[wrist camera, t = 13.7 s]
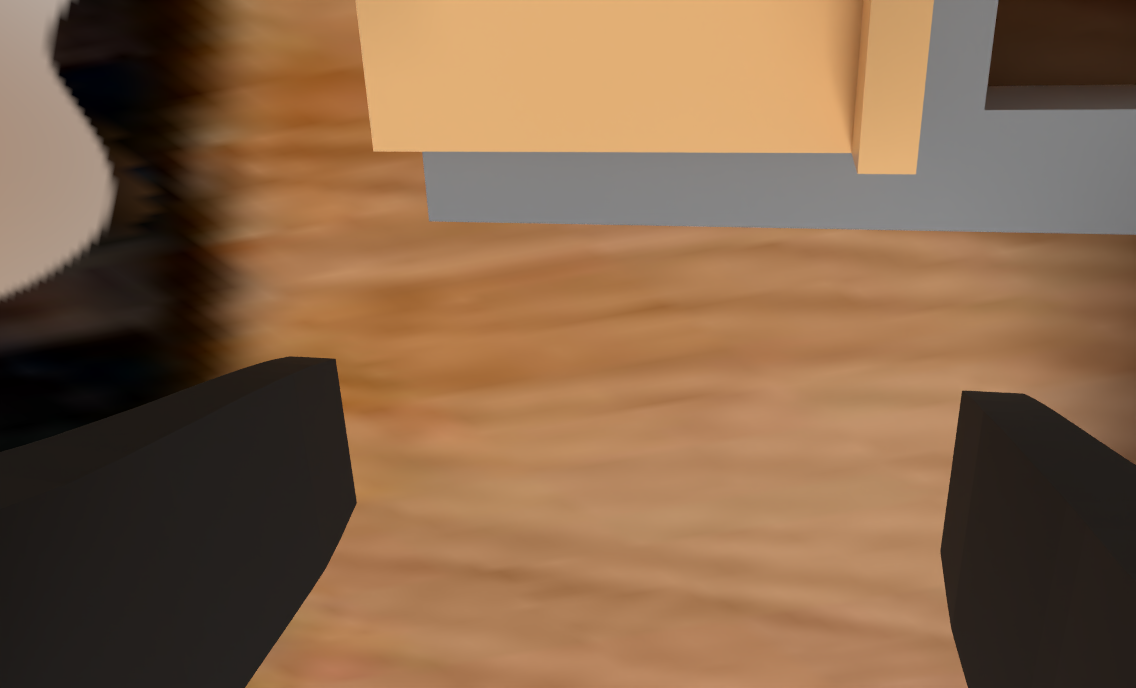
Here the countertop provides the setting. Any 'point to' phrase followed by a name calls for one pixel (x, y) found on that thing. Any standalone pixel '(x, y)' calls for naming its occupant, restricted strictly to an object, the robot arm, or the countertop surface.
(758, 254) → the countertop surface
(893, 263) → the countertop surface
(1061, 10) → the countertop surface
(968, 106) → the socket plate
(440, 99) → the panel
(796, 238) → the countertop surface
